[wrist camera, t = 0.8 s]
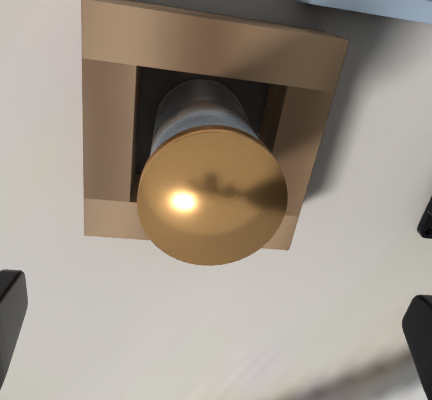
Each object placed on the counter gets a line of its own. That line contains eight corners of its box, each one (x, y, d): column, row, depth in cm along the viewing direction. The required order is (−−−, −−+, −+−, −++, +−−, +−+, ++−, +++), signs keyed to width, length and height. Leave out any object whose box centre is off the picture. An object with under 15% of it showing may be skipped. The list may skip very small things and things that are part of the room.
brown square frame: (324, 31, 18) (349, 40, 15) (276, 218, 23) (289, 250, 20) (96, -5, 16) (81, -2, 14) (95, 203, 21) (84, 235, 19)
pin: (257, 81, 19) (304, 142, 12) (239, 173, 21) (270, 269, 14) (155, 68, 18) (141, 124, 11) (148, 163, 20) (133, 261, 13)
